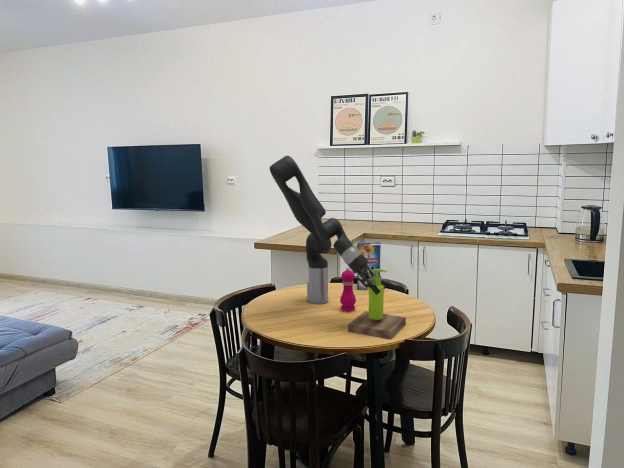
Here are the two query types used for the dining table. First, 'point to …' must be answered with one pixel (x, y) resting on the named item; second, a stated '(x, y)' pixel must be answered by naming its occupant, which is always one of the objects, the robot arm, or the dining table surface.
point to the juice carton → (369, 257)
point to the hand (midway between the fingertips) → (381, 291)
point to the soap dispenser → (376, 297)
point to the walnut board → (377, 325)
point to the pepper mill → (348, 291)
